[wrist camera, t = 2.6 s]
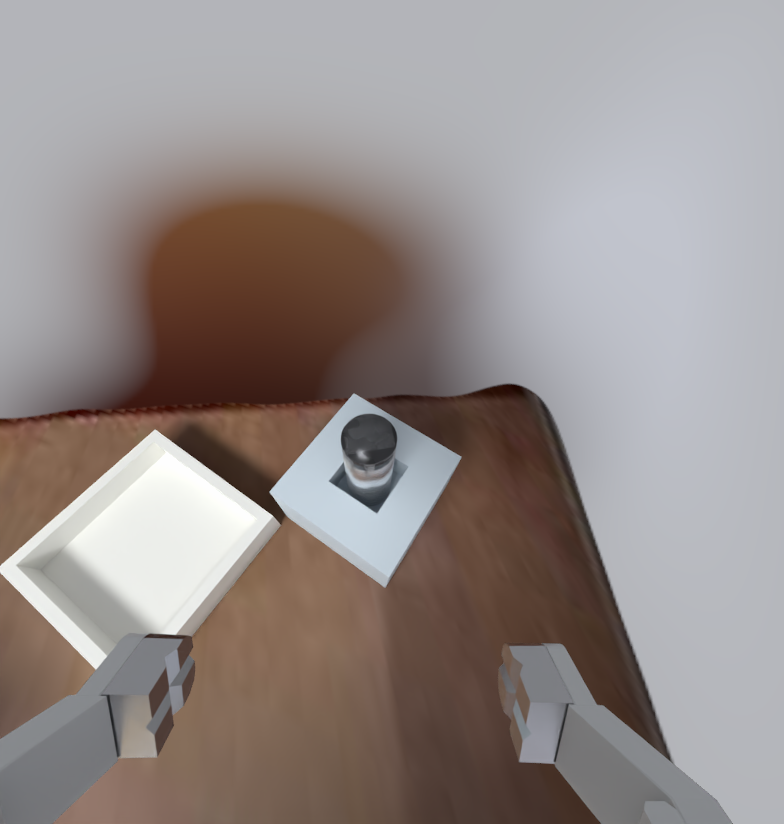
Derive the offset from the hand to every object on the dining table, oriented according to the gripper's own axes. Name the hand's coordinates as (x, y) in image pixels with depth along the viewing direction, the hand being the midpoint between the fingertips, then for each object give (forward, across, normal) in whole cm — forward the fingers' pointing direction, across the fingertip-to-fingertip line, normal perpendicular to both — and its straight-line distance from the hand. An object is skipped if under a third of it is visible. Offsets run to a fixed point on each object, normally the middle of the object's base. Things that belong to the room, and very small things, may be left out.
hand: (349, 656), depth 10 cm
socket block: (+28, 0, +10) cm, 30 cm away
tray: (+24, +20, +14) cm, 34 cm away
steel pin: (+24, 0, +7) cm, 25 cm away
